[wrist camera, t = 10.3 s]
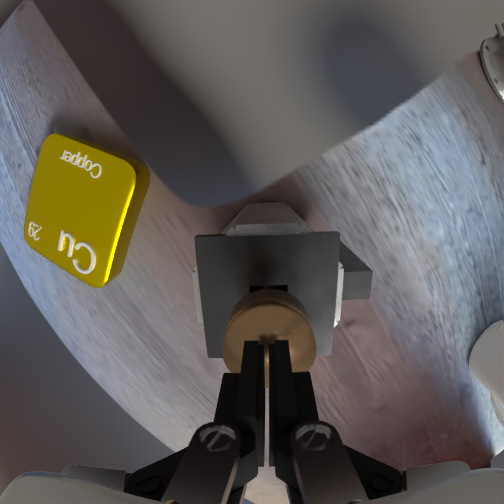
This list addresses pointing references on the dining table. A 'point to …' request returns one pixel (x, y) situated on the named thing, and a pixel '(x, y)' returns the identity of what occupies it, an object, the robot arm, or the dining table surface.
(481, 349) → the coffeepot
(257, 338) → the plunger
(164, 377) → the dining table surface
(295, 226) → the grey faceted container
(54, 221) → the element tile
